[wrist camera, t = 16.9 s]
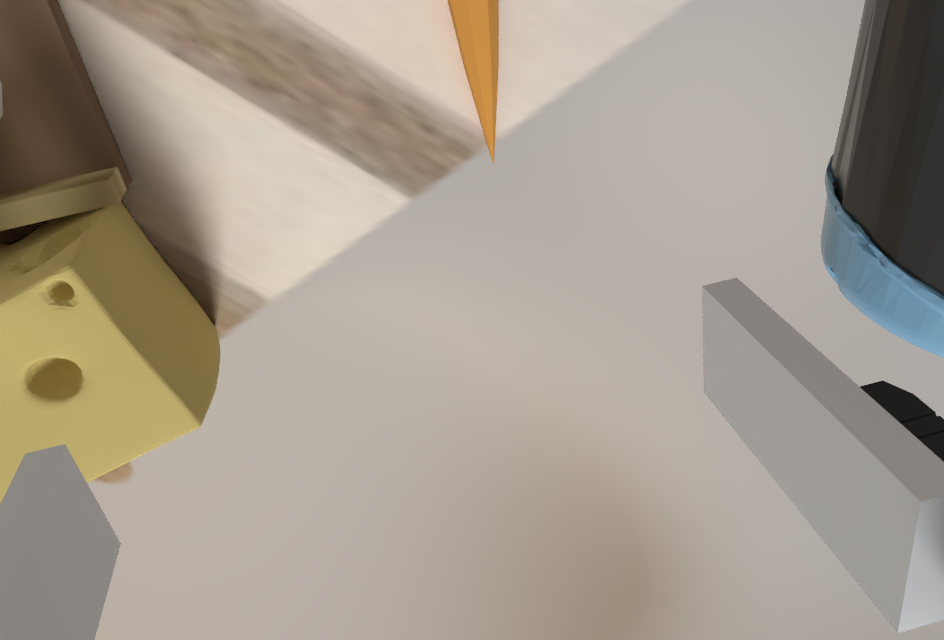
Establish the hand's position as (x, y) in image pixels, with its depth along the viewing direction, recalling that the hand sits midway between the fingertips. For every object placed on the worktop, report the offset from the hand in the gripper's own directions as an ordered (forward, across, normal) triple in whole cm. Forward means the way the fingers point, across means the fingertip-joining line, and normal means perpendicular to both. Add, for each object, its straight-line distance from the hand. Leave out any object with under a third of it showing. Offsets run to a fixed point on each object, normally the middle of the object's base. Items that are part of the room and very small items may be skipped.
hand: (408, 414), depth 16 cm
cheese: (+28, +16, +8) cm, 33 cm away
